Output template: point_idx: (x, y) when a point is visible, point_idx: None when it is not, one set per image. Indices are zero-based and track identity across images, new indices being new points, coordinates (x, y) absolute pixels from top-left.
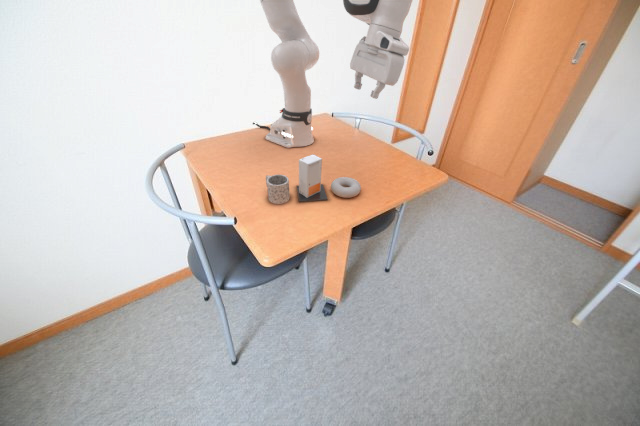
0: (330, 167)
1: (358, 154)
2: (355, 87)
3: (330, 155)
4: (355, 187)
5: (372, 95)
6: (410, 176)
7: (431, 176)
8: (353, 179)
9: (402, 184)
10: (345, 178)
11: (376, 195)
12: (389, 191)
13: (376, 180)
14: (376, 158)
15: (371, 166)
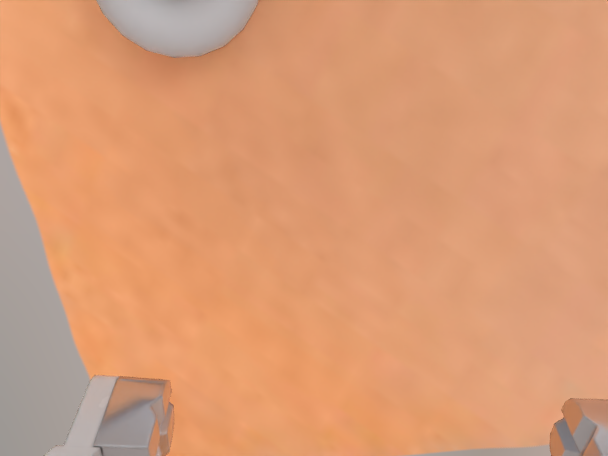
0: (454, 37)
1: (497, 269)
2: (601, 402)
3: (580, 120)
4: None
5: (112, 389)
6: (184, 353)
7: None
8: (189, 31)
9: (134, 278)
10: None
11: (87, 102)
12: (99, 184)
13: (215, 190)
14: (409, 324)
15: (350, 253)
